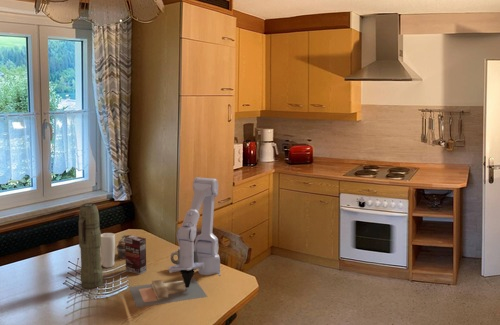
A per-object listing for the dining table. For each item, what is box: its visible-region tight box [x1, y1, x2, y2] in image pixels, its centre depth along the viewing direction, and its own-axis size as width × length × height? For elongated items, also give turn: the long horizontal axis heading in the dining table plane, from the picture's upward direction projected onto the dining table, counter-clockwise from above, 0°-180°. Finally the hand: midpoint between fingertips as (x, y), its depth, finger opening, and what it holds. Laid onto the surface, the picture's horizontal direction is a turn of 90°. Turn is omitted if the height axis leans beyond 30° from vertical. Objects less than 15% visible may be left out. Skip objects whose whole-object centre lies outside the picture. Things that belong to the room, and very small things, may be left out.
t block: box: [151, 279, 185, 300], centre depth 207 cm, size 12×12×3 cm
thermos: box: [77, 202, 103, 290], centre depth 212 cm, size 9×12×35 cm
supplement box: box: [125, 234, 147, 275], centre depth 229 cm, size 9×5×16 cm, turn 62°
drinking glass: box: [100, 232, 116, 268], centre depth 236 cm, size 7×7×15 cm
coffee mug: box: [170, 246, 198, 271], centre depth 234 cm, size 13×10×10 cm
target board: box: [128, 277, 208, 308], centre depth 207 cm, size 28×20×1 cm
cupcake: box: [116, 234, 132, 260], centre depth 250 cm, size 10×10×10 cm
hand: (187, 286), depth 210 cm, fingers closed
